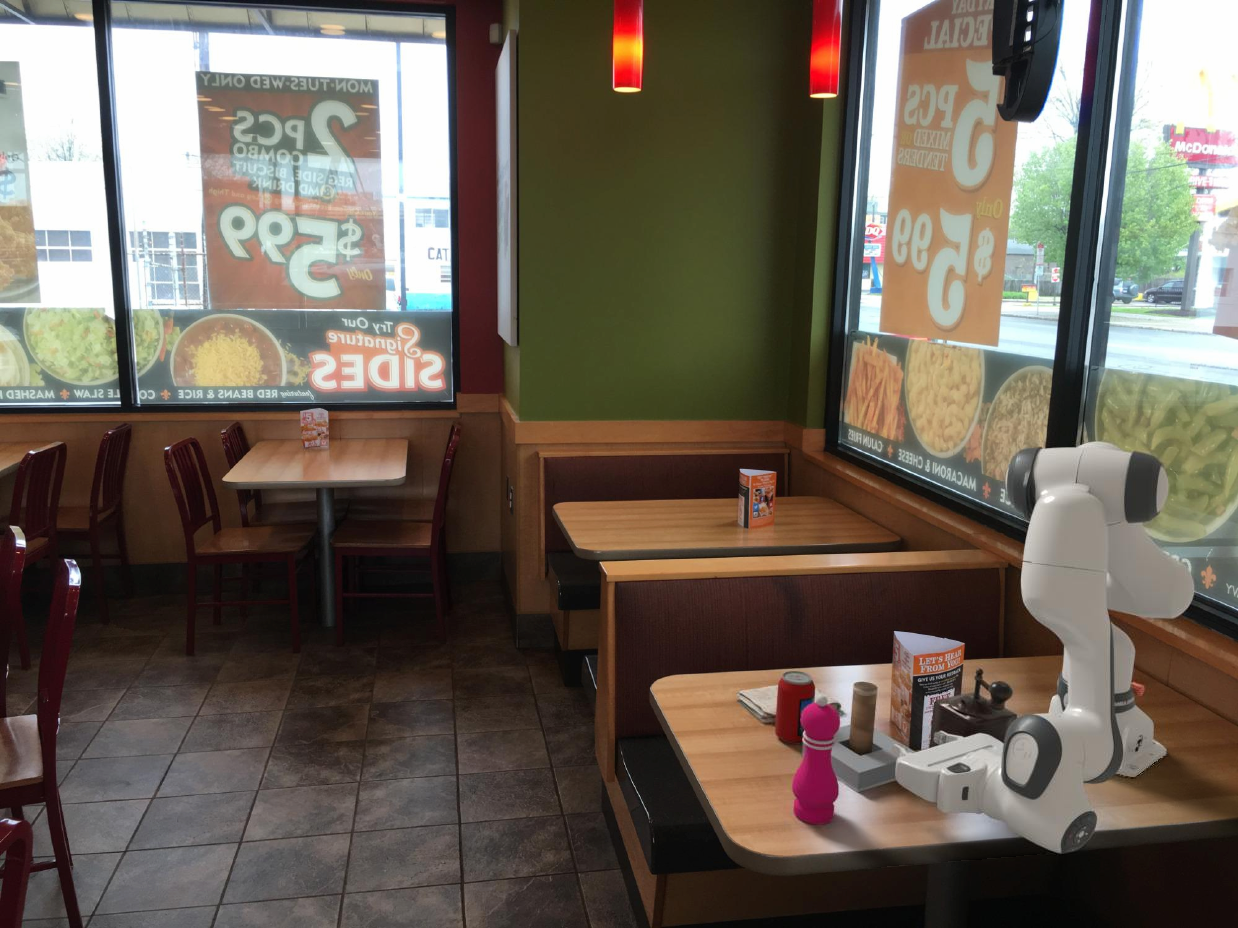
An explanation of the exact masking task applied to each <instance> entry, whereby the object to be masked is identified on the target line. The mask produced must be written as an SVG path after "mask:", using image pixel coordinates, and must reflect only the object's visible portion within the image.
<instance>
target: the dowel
mask: <svg viewBox="0 0 1238 928" xmlns="http://www.w3.org/2000/svg"><path fill="white" fill-rule="evenodd" d="M878 689H879V688H878V685H877V684H875V683H872V682H868V681H856V682H854V683H853V684H852V700H851V712H850V724H849V725H850V735H849V748H848V749H850V750H851V751H853V752H854V753H856V754H858V755H859V756H862V755H865V754H868V753H872V746H873V734H874V729H875V723H876V721H875V720H876V709H877V696H878Z"/></svg>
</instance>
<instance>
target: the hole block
mask: <svg viewBox="0 0 1238 928" xmlns="http://www.w3.org/2000/svg"><path fill="white" fill-rule="evenodd" d="M834 735H835V737H836V739H835V746H834V747H833V748H832V751H831V763H832V768H833V770H834V773H835V775H836V778H837V781H839V782H841V783H843V784H844V785H846V786H847V787H849V788H850V789H852V790H853V791H855V792H856V793H860V792H864V791H866V790H870V789H872V788H877V787H879V786H882V785H886V784H888V783H892V782H894V781H897V780H896V777H895V769H896V761H897V759H898V758H897V757H895V756H894V755H893V754H892V746H893V745H895V744H898V743H900V742H899V741H897V740H896V739H894V738H892V737H890V736H888V735H886V734H885V733H883V732H881V731H879V730H878V729H876V728H874V734H873V746H872V753H868V754H865V755H862V756H859V755H858V754H856V753H854V752H853V751H851V750H850V749H848V748H849V735H850V724H846V725H843V726H840V727H839V730H838V731H837V732H836V733H835V734H834ZM801 749H802V750H801V756H802V757H804V753H805V744H804V743H802V748H801ZM906 752H907V753H909V752H911V753H915V752H916V751H915V750H913V749H911V748H910V747H908V746H907V751H906Z"/></svg>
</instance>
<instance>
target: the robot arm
mask: <svg viewBox="0 0 1238 928" xmlns="http://www.w3.org/2000/svg"><path fill="white" fill-rule="evenodd" d="M1169 488H1170V486H1169V479H1168V475H1167V472H1166V470H1165V466H1164V463H1163V462H1161V460H1160V459H1159V458H1157V456H1155V455H1152V454H1150V453H1146V452H1142V451H1136V450H1133V452H1130V451H1124V450H1123V449H1122V448H1120V447H1119V446H1117V445H1116V444H1113V443H1110V442H1106V441H1089V442H1085V443H1083V444H1081V445H1078V446H1077V447H1051V448H1050V447H1049V448H1043V447H1042V446H1034V447H1026V448H1023V449H1019V450H1018V451H1017V452H1016V453H1015V454H1014V455H1013V456H1012V457H1011V459H1010V463H1009V465H1008V467H1007V470H1006V474H1005V489H1006V492H1007V498H1008V501H1009V503H1010V504H1011V506H1013V508H1014V509H1015V510H1016V511H1017V512H1019V513H1021V514H1023V517H1024V519H1025V520H1026V521H1028V522H1029V525H1028V529H1027V533H1026V537H1025V543H1024V549H1023V557H1022V558H1023V559H1022V567H1021V576H1020V577H1021V578H1020V588H1021V589H1020V590H1021V596H1022V597H1021V598H1022V601H1023V604H1024V606H1025V607H1026V609H1027V610H1028V612H1029V613H1030V614H1031V616H1032V617H1034V619H1035V620H1037V622H1038V623H1040V624H1041V625H1043V626H1044V627H1046V628H1047V629H1049V630H1050V631H1051V632H1053V633H1054V634H1055V635H1056V636H1057V637H1058V638H1059V640H1060V641H1061V643H1062V644H1063V646H1064V647H1063V659H1062V660H1063V664H1062V670H1061V672H1060V673H1059V675H1058V679H1057V683H1056V686H1057V688H1056V693H1057V694H1055V695H1054V696H1052V698H1051V701H1050V705H1049V709H1048V713H1047V712H1046V713H1033V714H1031V713H1030V714H1024V715H1020V716H1017V719H1015V720H1014V721H1013V722H1012V723H1011V724H1010V726H1009V727H1008V729H1007V732H1006V735H1005V739H1004V743H1002V742H1000V741H999V740H997V739H995V738H994V737H992V736H990V735H988V734H983V733H978V734H975V735H972V736H968V737H965V738H964V737H962V736H957V735H951V734H947V733H945V732H943V731H939V732H936V733H934V742H935V743H937V744H939V746H935V747H932V748H929V747H928V748H925V749H923V750H919V751H917V752H916V751H915V753H911V752H909V753H907V752H906V751H907V747H908V746H907V745H905V744H903V743H901V742H899V743H898V744H895V745H893V746H892V754H893V755H894V756H895V757H897V758H898V759H897V761H896V769H895V777H896V780H895V781H896V782H897V783H898V784H899V785H900V786H902V787H903V788H904V789H906V790H908V791H909V792H911V793H912V794H915V795H916V796H918V797H919V798H921V799H923V800H925V801H928V802H932V803H937V804H936V806H937V809H938V810H939V811H940V812H942V813H944V814H948V815H949V814H951V815H952V814H964V813H965V814H966V813H967V814H976V815H981V814H984V815H985V816H987V817H988V818H990V819H993V820H996V821H998V822H999V821H1000V822H1002V823H1004V824H1005V825H1006V826H1007V827H1008V828H1009V829H1010V830H1011V831H1012V832H1014V833H1015V834H1017V835H1018V836H1020V837H1023V838H1025V840H1028V841H1030V842H1031V843H1034V844H1035V845H1037V846H1039V847H1042V848H1044V849H1045V850H1048V851H1052V852H1055V853H1057V854H1067V853H1071V852H1075V851H1077V850H1079V849H1081V848H1082V847H1083V846H1084V845H1085V844H1086V843H1088V841H1089V840H1090V839H1091V837H1092V836H1093V834H1094V833H1095V830H1096V827H1097V824H1098V815H1097V812H1096V811H1095V809H1094V808H1093V806H1092V805H1091V802H1090V801H1089V798H1088V795H1087V792H1086V789H1085V785H1084V784H1091V785H1093V784H1094V785H1095V784H1096V785H1097V784H1103V783H1105V782H1107V781H1109V780H1111V779H1112V778H1113V777H1114V776H1115V775H1117V774H1122V775H1128V776H1136V775H1138V774H1140V773H1141V772H1142V771H1144V770H1145V769H1146V768H1148V767H1149V766H1150V765H1152V764H1153V763H1154V762H1156V761H1157V762H1158V759H1160V758H1161V759H1163V758H1164V757H1165V756H1166V755H1167V748H1165V746H1164V745H1162V744H1161V743H1159V741H1157V740H1156V739H1154V733H1155V732H1154V731H1155V730H1154V727H1155V725H1154V722H1153V720H1152V719H1151V718H1150V717H1149V716H1148V715H1147V714H1146V713H1145V712H1144V711H1142V710H1141V709H1140V708H1139V707H1138V706H1137V705H1136V702H1135V695H1136V696H1139V697H1141V696H1143V694H1144V693H1145V686H1144V685H1143V684H1140V683H1136V682H1135V681H1133V682H1132V679H1133V671H1134V665H1135V664H1134V663H1135V656H1136V648H1135V645H1134V643H1133V641H1132V640H1131V638H1130V637H1129V636H1128V634H1127V633H1126V632H1124V631H1123V630H1122V629H1121V628H1119V627H1118V626H1116V625H1115V624H1113V622H1112V621H1111V618H1110V616H1109V612H1108V611H1109V610H1110V611H1116V612H1119V613H1124V614H1128V615H1132V616H1138V617H1142V618H1153V619H1155V618H1156V619H1176V618H1177V617H1179V616H1180V615H1182V614H1183V613H1184V612H1185V611H1186V610H1187V609H1188V608H1189V606H1190V605H1191V603H1192V601H1193V599H1194V595H1195V582H1194V579H1193V578H1194V577H1193V576H1192V573H1191V571H1190V569H1189V568H1188V567H1187V566H1186V565H1185V563H1182V562H1181V561H1179V560H1177V559H1175V558H1174V557H1172V556H1170V555H1169V554H1168V553H1166V552H1165V551H1164V550H1163V549H1161V548H1160V547H1159V546H1158V545H1157V544H1156V543H1155V542H1154V541H1153V540H1152V538H1151V537H1150V536H1149V535H1148V533H1147V532H1146V530H1145V528H1144V525H1143V523H1147V522H1151V521H1152V520H1153V519H1155V518H1156V517H1158V516H1159V515H1160V513H1161V510H1162V509H1163V507H1164V505H1165V503H1166V501H1167V498H1168V494H1169ZM1134 694H1135V695H1134ZM1163 756H1164V757H1163ZM1161 759H1160V760H1161ZM1157 762H1156V763H1157ZM1153 765H1154V764H1153ZM1153 765H1152V766H1153ZM1149 768H1150V767H1149ZM1149 768H1148V769H1149ZM1145 771H1146V770H1145ZM1145 771H1144V772H1145ZM1116 773H1117V774H1116ZM1141 774H1142V773H1141ZM1141 774H1140V775H1141Z"/></svg>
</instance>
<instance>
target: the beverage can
mask: <svg viewBox="0 0 1238 928" xmlns="http://www.w3.org/2000/svg"><path fill="white" fill-rule="evenodd" d="M777 685H778V692H777V707H776V722H775V723H774V724H775V725H774V726H775V728H774V729H775V730H774V732H775V735H776V737H777V738H779V739H780V740H782V741H783V742H785V743H787V744H792V745H799V744H803V740H802V739H803V732H804V731H805V730H804V729H803V727H802V725H801V714H802V711H803V710H804V708H805V707H806V706H808V705H809V704H812V703H814V702H815V688H816V685H815V683H814V681H813V677H812V675H810V674H809V673H807V672H804V671H798V670H789V671H785V672H784V673H782V676H781V677H780V679H779V681H778V684H777Z"/></svg>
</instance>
